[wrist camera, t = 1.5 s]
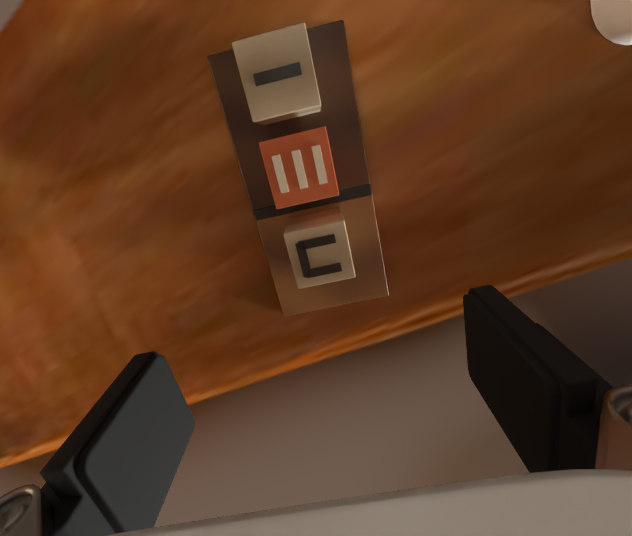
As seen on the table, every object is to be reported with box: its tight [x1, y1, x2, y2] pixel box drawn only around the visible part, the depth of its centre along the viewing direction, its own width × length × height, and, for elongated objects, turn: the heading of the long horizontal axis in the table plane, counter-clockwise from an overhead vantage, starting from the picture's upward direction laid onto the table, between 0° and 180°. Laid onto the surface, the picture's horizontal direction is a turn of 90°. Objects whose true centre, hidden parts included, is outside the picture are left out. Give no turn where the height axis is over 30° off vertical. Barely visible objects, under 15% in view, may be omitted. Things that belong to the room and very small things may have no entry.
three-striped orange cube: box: [259, 126, 339, 209], centre depth 22 cm, size 4×4×4 cm
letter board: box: [207, 20, 389, 316], centre depth 25 cm, size 20×9×1 cm, turn 13°
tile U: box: [284, 208, 356, 289], centre depth 24 cm, size 4×4×4 cm
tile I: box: [232, 23, 321, 125], centre depth 20 cm, size 4×4×4 cm
